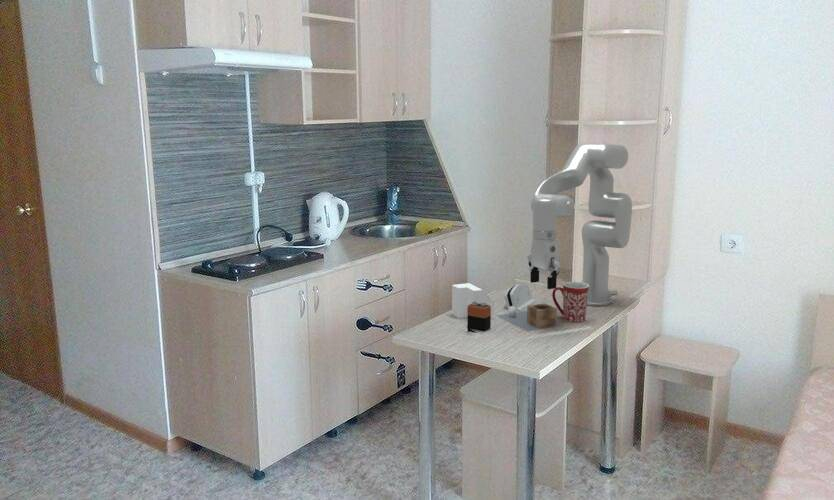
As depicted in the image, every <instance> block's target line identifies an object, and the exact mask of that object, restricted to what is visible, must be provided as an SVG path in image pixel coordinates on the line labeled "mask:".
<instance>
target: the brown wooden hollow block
mask: <svg viewBox="0 0 834 500" xmlns="http://www.w3.org/2000/svg"><path fill="white" fill-rule="evenodd" d="M526 311H527V323H528V324H530V325H532V326H535V327H537V328H544V329H546V328H545V327H550V328H552V327H551V326H556V324H557V313H558V312H557V311H558V308H557V307H554V306H552V305H549V304H547V303H539V304H532V305H530V306H527V308H526ZM556 327H557V326H556Z"/></svg>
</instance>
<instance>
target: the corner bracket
mask: <svg viewBox="0 0 834 500" xmlns="http://www.w3.org/2000/svg"><path fill="white" fill-rule="evenodd" d="M472 302H477V303H479V304H480V303H487V305H490V306H491V320H493V319H495V300H493V299H492V298H491V297H490V296H489V295H488V294H487V292H485V290H483V289H482V288H480V287H477V286H476V285H473V284H472V283H470V282H469V283H458V284H451V315H453V316H454V317H456V318H458V319H462V318H463V319H464V318H468V305H470V304H472Z"/></svg>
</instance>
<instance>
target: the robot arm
mask: <svg viewBox="0 0 834 500" xmlns="http://www.w3.org/2000/svg"><path fill="white" fill-rule="evenodd" d="M628 160H629V152H628V149H627V148H626V146H624V145H622V144H614V143H604V142H583V143H579V144H577V145H576V146H575V147H574V149H573V150H572V152H571V154H570V155H569V158H568V159H567V161H566V162H565V164H564V166H563V168H562V169H561V170H560V171H558V172H556V173H555V174H554V173H553V175H551V176H550V177H548V178H547V179H545V180H543V181H542V183H540V184H539V186H538V187H537V188H536V191H535V193H534V194H533V197H532V198H531V203H530V209H531V212H532V241H531V247H530V254H529V255H528V256H527V261H528V264H527V265H528V266H529V271H530V275H529V276H530V283H533V284H535V283H539V282H540V270H542V271H546V272H547V275H548V277H547V281H546V282H547V287H546V289H547V290H554V289H555V288H556V287H557V279H558V276H559V273H560V270H561V268H562V265H560V263H559V247H558V242H557V239H556V238H557V235H556V234H557V219H559V218H560V219H564V218H568V217H569V216H571V215H572V213H573V212H574V209H575V203H574V200H573V199H572V197H570V196H568V195H564V194H559V193H562V192H564V191H568V190H572V189H574V188H575V189H576V188H578V187H580V186H582V185H583V184H584V182H585V180H586V178H587V176H589V182H590V183H589V192H588V193H589V194H588V205H587V209H588V212H589V215H591V216H592V217H598V218H606V219H607V218H609V219H615V220H614V221H607V220H589V221H586V222H585V223H584V224H583V225H582V228H581V239H582V245H583V248H582V249H583V259H582V283H586V284H588V285H589V288H588V297H587V306H592V307H602V306H603V307H604V306H609V305H611V304H612V301H613V300H612V299H611V297H612V296H618V290H610V289H609V274H610V273H609V271H610V270H609V269H610V256H609V255H610V254H609V253H608V251H607V249H606V248H613V249H623V248H626V247H627V245H628V244H629V240H630V235H631V227H632V214H633V202H632V198H631V196H630V195H629V194H627V193H623V192H614V183H615V181H614V180H615V179H614V176H613V173H612V171H611V170H610V169H615V170H619V169H623V168H624V167H625V166H626V164H627V163H628ZM605 247H606V248H605ZM551 271H552V272H551Z"/></svg>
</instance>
